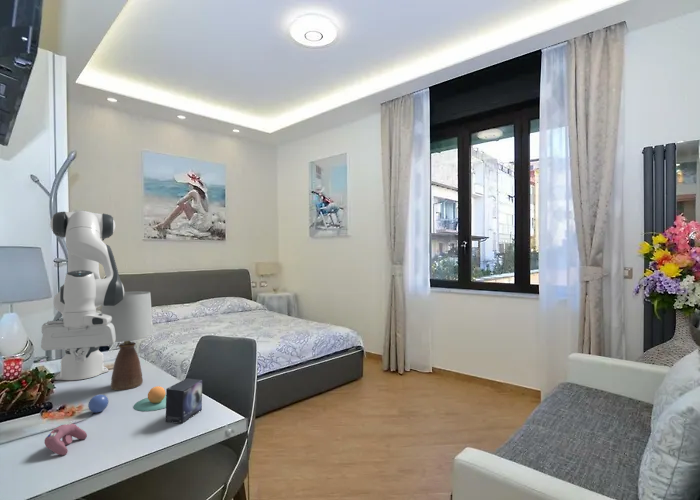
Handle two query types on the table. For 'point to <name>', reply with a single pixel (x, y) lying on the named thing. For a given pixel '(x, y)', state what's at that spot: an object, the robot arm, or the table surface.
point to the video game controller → (63, 437)
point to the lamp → (129, 336)
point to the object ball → (156, 394)
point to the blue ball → (98, 403)
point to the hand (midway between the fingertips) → (79, 361)
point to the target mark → (150, 405)
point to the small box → (183, 400)
